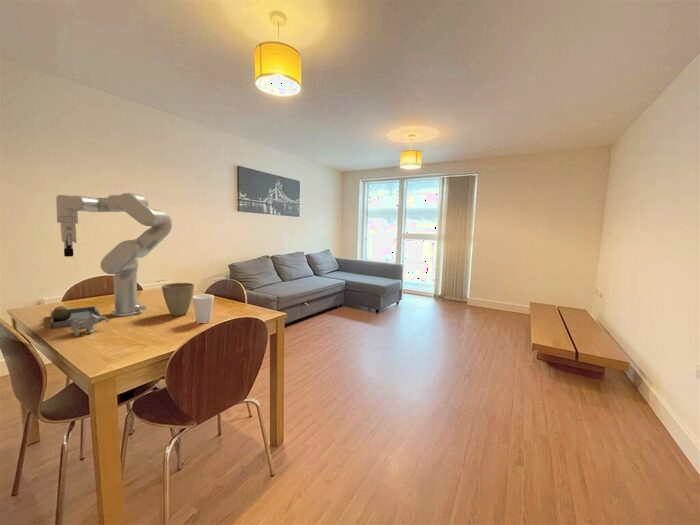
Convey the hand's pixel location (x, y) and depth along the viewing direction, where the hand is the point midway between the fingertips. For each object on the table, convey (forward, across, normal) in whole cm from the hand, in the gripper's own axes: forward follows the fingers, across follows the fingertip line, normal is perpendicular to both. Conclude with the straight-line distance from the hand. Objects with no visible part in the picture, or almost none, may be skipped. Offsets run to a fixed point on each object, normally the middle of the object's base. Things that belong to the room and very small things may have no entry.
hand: (68, 256), depth 146 cm
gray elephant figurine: (+29, -41, -3) cm, 50 cm away
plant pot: (+28, -37, -39) cm, 61 cm away
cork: (+26, -18, +4) cm, 32 cm away
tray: (+29, -16, 0) cm, 33 cm away
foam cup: (+28, -58, -44) cm, 77 cm away
